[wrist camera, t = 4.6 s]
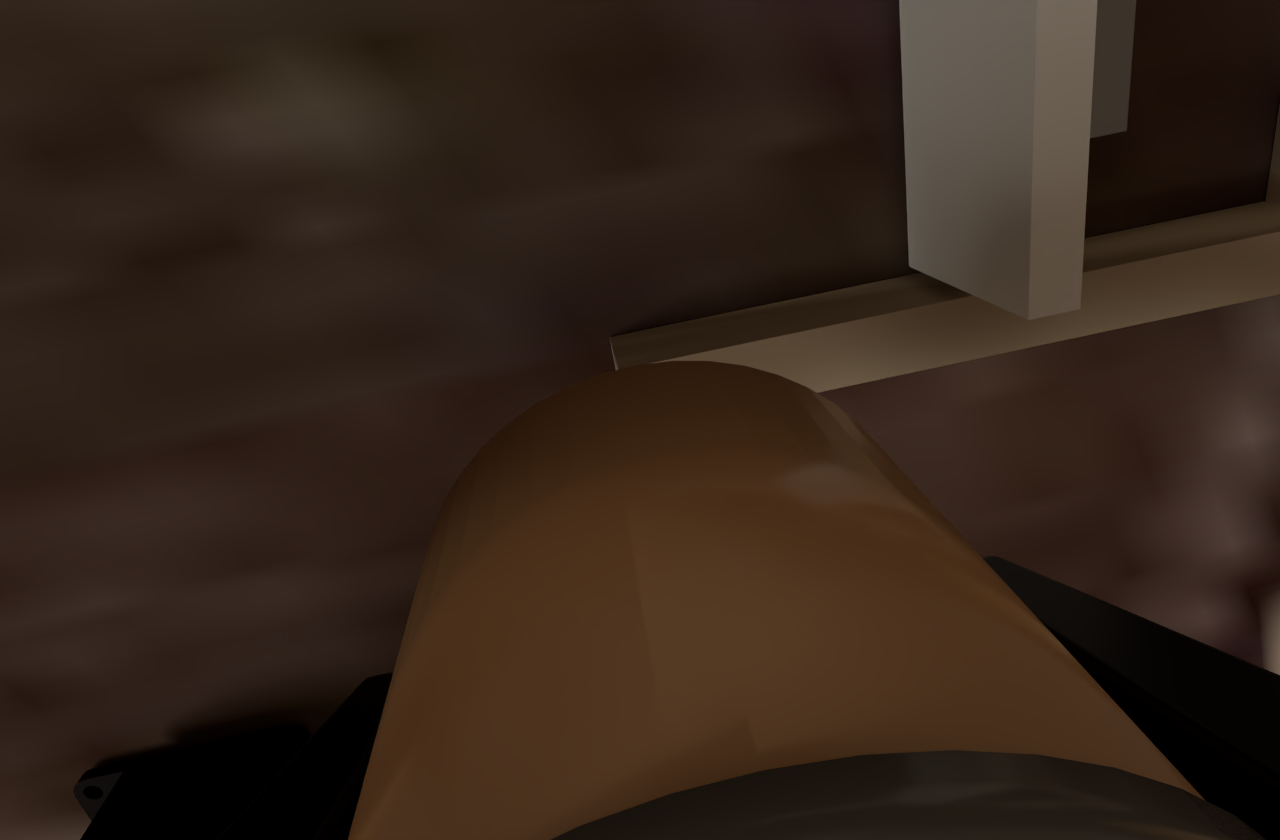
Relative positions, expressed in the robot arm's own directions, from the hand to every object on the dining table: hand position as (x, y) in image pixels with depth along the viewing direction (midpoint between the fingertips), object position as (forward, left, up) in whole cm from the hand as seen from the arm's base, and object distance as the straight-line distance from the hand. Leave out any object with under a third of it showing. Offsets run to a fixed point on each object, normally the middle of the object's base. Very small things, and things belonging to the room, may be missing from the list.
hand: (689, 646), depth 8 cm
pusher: (+5, -9, -11) cm, 15 cm away
